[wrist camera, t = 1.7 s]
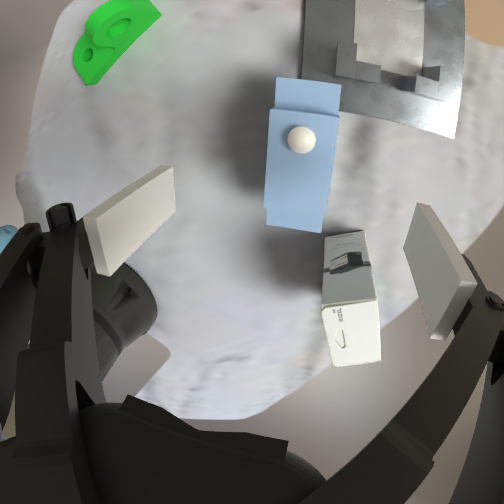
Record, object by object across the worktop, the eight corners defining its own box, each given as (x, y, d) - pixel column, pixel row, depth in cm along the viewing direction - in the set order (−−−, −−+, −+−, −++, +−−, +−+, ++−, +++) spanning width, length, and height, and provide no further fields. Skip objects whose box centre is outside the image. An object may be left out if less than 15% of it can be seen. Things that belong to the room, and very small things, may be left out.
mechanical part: (138, -13, 21) (93, -25, 15) (163, 15, 23) (119, 4, 17) (77, 55, 27) (31, 59, 20) (97, 83, 29) (51, 92, 22)
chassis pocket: (299, 104, 26) (294, 108, 21) (308, -64, 15) (303, -88, 11) (451, 137, 23) (474, 149, 19) (459, -28, 12) (480, -42, 8)
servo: (276, 200, 32) (259, 238, 25) (286, 79, 25) (270, 76, 18) (322, 207, 31) (319, 248, 24) (338, 85, 24) (343, 84, 17)
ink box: (374, 289, 35) (382, 364, 25) (336, 294, 37) (333, 369, 27) (366, 228, 31) (379, 298, 21) (323, 235, 33) (318, 306, 23)
